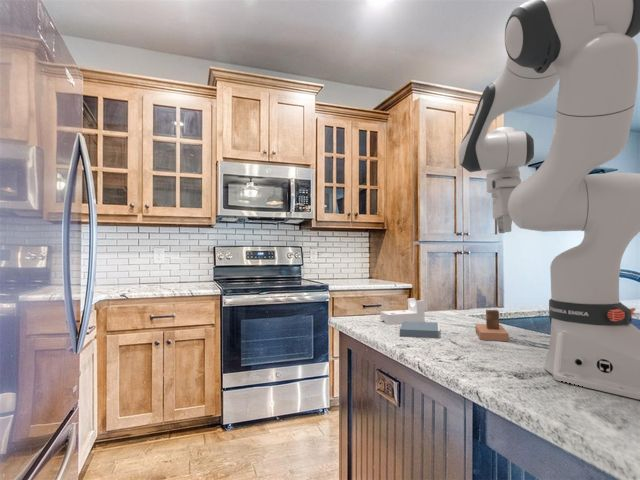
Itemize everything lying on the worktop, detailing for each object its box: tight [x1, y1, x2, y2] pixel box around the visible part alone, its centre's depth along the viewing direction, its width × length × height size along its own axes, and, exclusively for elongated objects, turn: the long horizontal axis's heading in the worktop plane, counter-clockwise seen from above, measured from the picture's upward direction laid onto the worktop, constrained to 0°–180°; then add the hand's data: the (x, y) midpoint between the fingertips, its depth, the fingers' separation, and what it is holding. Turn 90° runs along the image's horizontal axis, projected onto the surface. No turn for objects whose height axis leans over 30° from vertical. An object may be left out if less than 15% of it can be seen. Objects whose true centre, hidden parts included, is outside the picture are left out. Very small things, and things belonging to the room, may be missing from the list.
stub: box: [475, 309, 510, 342], centre depth 107 cm, size 7×12×7 cm, turn 163°
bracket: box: [379, 297, 426, 326], centre depth 130 cm, size 13×7×8 cm, turn 103°
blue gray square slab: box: [399, 321, 441, 339], centre depth 112 cm, size 11×12×2 cm
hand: (504, 232), depth 110 cm, fingers open, 8 cm apart
